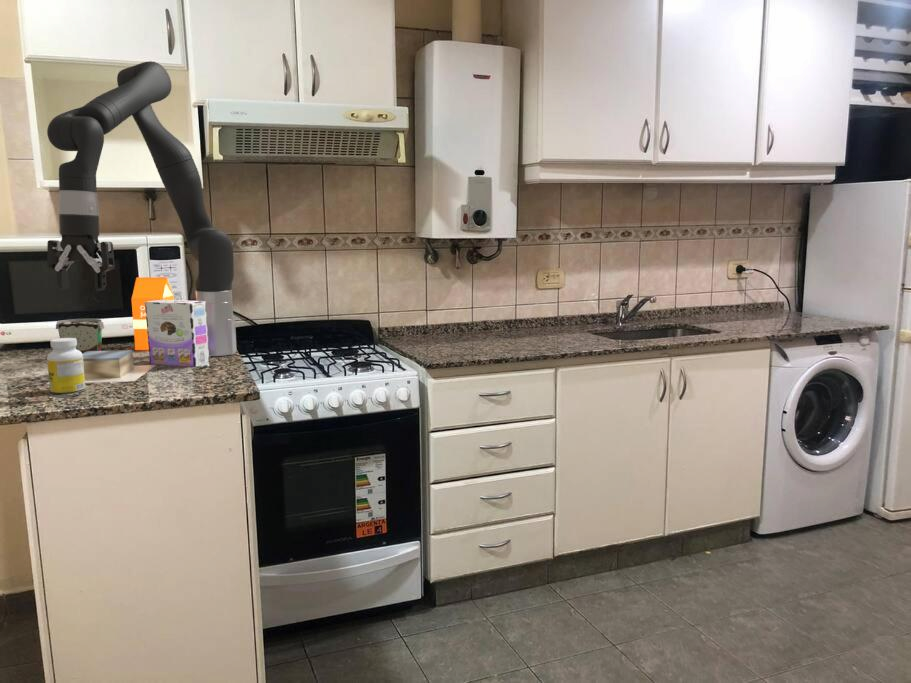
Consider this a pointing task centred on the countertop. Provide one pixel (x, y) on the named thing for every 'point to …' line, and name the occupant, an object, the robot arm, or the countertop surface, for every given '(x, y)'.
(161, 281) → the orange juice
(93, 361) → the plinth
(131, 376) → the baseplate
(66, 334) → the food container
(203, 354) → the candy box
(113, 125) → the robot arm
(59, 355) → the pill bottle
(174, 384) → the countertop surface
